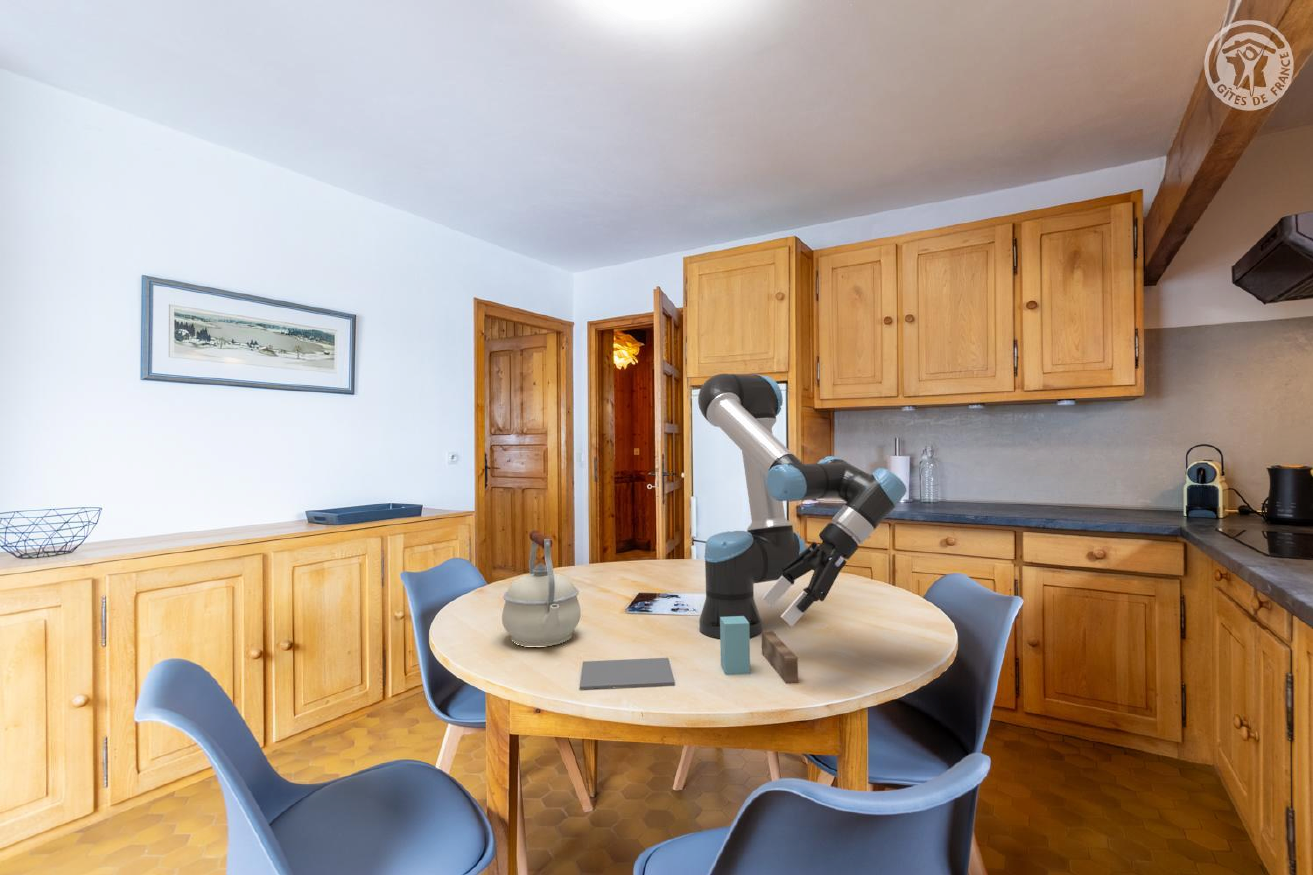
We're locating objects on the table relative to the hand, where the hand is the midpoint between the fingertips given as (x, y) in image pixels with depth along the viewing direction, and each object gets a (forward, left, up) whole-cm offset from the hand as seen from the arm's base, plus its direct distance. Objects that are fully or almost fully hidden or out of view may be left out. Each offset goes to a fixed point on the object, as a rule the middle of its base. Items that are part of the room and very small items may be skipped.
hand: (775, 611), depth 120 cm
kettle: (-24, -49, -12) cm, 56 cm away
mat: (-1, -30, -12) cm, 32 cm away
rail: (-1, +1, -12) cm, 12 cm away
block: (-1, -8, -12) cm, 14 cm away
